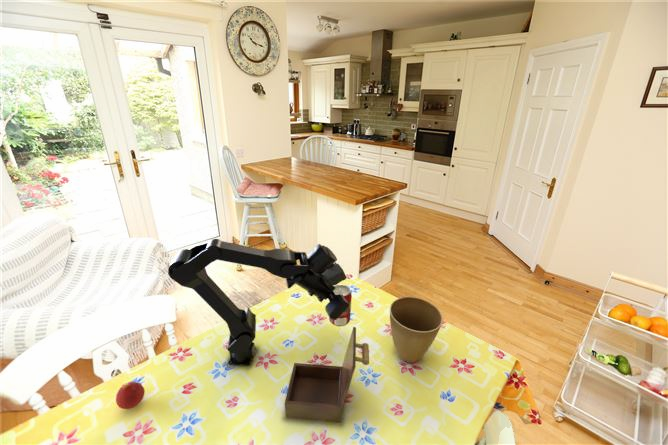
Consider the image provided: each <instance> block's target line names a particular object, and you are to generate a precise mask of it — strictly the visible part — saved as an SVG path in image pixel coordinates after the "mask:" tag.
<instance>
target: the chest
mask: <svg viewBox="0 0 668 445" xmlns="http://www.w3.org/2000/svg"><path fill="white" fill-rule="evenodd" d="M341 377H342V365H341V366H339V365H326V364H313V363H312V364H311V363H300V362H294V363H293V366H292V371H291V375H290V379H289V383H288V388H287V392H286V396H285V401H284V414H285V418H286V419H296V420H297V419H298V420H309V421H317V422H318V421H319V422H329V423H331V422H332V423H341V421H342V420H341V419H342V407H340V393H341Z"/></svg>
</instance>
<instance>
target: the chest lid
mask: <svg viewBox="0 0 668 445" xmlns="http://www.w3.org/2000/svg"><path fill="white" fill-rule="evenodd" d="M369 346H370V345H369V344H368V343H367V342H363V343H357V327H356V326H353V327H352V330H351V334H350V337H349V341H348V344H347V348H346V351H345V354H344V358H343V361H342V365H341V367H342V377H341V393H340V407H341V408H343V407H344V404H345V401H346V399H347V395H348V392H349V389H350V387H351V386H350V385H351V382H352V380H353V376H354V373H355V369H356V363H357V362H358V363H362V365H363V366H368V365H369V364H370V348H369ZM357 349H361V357H359V356H357V352H356V351H357Z"/></svg>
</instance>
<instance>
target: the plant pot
mask: <svg viewBox="0 0 668 445" xmlns="http://www.w3.org/2000/svg"><path fill="white" fill-rule="evenodd" d="M443 318H444V317H443V314H442V312H441V310H439V308H438V307H437V306H436V305H434V304H433V303H431V302H430V301H429V300H427V299H423V298H420V297H417V296H402V297H398V298H396V299H394V300H393V301H392V302H391V303H390V306H389V323H390V332H391V337H392V342H393V346H394V349H395V353H396V354H397V356H398V358H400V360H402V361H404V362H407V363H411V364H412V363H417V362H418V361H419V360H420V359H421V358H422V357H423V356H424V355H425V354H426V352H427V351H428V350H429V348H430V347H431V346H432V345H433V344H434V343H433V342H434V341H435V339H436V337H437V335H438V333H439V332H440V329H441V327H442V325H443V321H444V319H443Z"/></svg>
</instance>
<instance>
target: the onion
mask: <svg viewBox="0 0 668 445" xmlns="http://www.w3.org/2000/svg"><path fill="white" fill-rule="evenodd" d="M145 392H146V391H145V388H144V386H143V385H142V383H141V382H138V381H128V382H125V383H122V385H121V387H120V388H119V389H118V391H117V392H116V395H115V403H116V405H117V407H118V408H119V409H123V410H131V409H133V408H135V407H137V406H138V405H139V404H141V402H142V400H143V399H144V397H145Z"/></svg>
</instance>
